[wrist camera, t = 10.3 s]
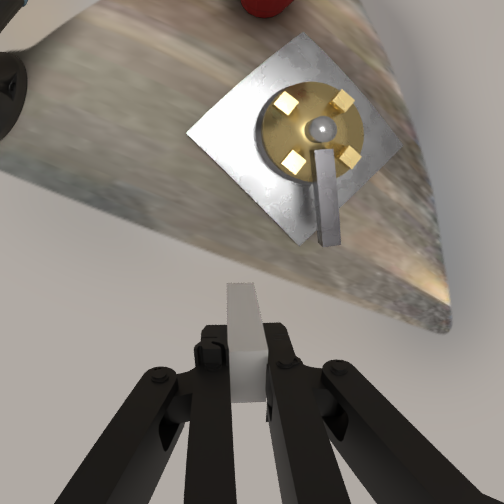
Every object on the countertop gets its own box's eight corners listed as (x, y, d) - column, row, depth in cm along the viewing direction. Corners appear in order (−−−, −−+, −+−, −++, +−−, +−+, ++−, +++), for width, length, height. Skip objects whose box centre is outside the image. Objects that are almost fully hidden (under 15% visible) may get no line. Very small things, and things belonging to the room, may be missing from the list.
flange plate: (187, 133, 37) (183, 131, 33) (300, 35, 34) (307, 24, 30) (296, 243, 42) (303, 252, 38) (397, 145, 39) (412, 145, 35)
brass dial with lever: (254, 90, 32) (259, 78, 26) (347, 86, 32) (367, 75, 27) (273, 240, 37) (282, 256, 32) (361, 228, 38) (382, 241, 32)
